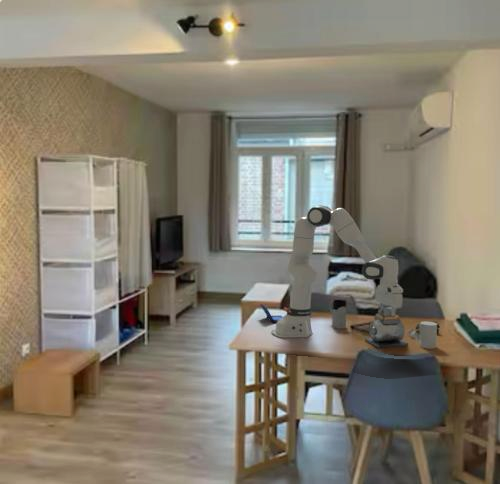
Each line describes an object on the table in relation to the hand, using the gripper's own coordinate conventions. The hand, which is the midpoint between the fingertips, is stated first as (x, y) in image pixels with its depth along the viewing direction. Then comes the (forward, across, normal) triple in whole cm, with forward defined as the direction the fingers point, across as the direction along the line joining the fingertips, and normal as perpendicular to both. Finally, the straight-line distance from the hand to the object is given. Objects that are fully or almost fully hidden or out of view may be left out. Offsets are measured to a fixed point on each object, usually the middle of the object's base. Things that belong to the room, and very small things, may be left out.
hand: (387, 313), depth 283 cm
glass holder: (+16, -41, -8) cm, 45 cm away
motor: (+16, 0, 0) cm, 16 cm away
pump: (+2, 0, 0) cm, 2 cm away
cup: (+16, +10, +18) cm, 26 cm away
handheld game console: (+16, -61, -40) cm, 75 cm away
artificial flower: (+16, -9, +30) cm, 35 cm away
